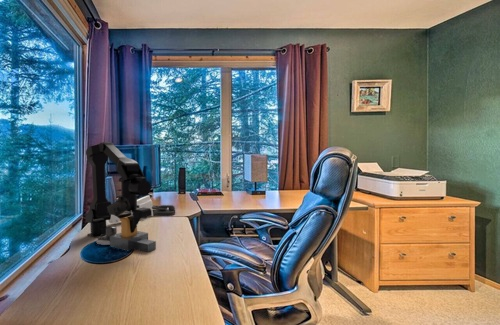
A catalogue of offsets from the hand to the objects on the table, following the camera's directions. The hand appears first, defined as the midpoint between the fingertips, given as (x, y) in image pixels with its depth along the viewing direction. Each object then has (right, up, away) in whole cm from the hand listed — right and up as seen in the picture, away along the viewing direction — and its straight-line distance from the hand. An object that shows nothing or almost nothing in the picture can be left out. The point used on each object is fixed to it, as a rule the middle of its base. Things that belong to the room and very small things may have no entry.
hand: (129, 232), depth 113 cm
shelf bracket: (-16, -4, +41) cm, 44 cm away
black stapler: (-9, -3, +56) cm, 57 cm away
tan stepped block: (0, -3, 0) cm, 3 cm away
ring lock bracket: (-2, -5, +1) cm, 6 cm away
